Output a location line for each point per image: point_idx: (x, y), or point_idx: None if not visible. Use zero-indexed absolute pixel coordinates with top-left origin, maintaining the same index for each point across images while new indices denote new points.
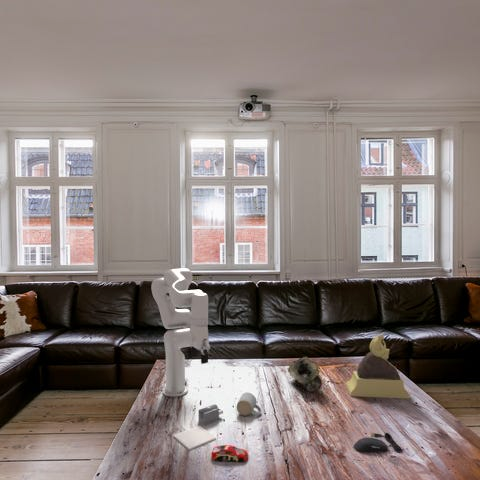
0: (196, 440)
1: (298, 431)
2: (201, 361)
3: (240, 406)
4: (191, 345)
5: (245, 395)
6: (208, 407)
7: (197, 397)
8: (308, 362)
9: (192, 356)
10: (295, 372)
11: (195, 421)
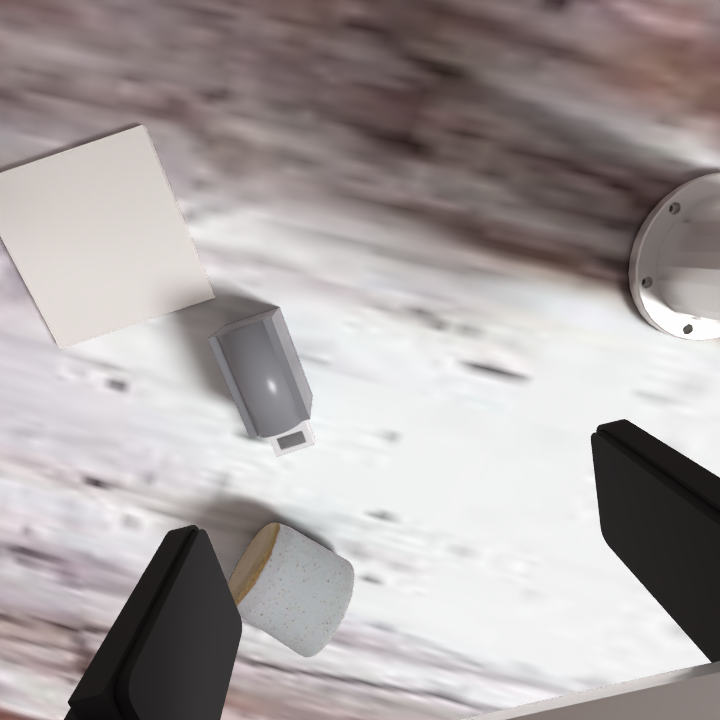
0: (51, 242)
1: (57, 690)
2: (158, 554)
3: (257, 552)
4: (704, 684)
5: (297, 621)
6: (253, 382)
7: (563, 368)
8: None
9: (597, 451)
10: None
11: (283, 290)
